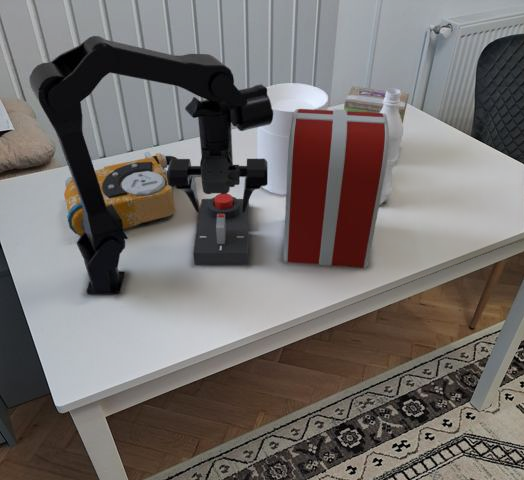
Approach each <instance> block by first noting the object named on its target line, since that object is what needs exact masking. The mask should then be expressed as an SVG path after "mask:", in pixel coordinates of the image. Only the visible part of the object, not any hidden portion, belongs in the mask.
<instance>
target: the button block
mask: <svg viewBox="0 0 524 480" xmlns="http://www.w3.org/2000/svg"><path fill="white" fill-rule="evenodd" d="M232 197H233V206H232V207H231V208H228V209H219V208H216V207H215V196H214V197H212V198H201V201H200V206H199V213H198V214H199V215H198V222H197V223H217V214H225V223H248V232H249V230H250V229H249V227H250V224H249V223H250V200H249V201H248V204H247V207H246V210H245V212H243V209H242V205H243V198H237V197H235V196H232Z"/></svg>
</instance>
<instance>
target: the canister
mask: <svg viewBox="0 0 524 480" xmlns="http://www.w3.org/2000/svg"><path fill="white" fill-rule="evenodd" d="M266 88H267V95H268V97H269V99H270V102H271V106H272V110H273V120H272V122H271V124H270V125H266V126H261V127H257V128H256V129H257V131H256V135H257V136H256V137H257V138H256V139H257V143H256V144H257V146H256V147H257V150H256V151H257V154H256V155H257V159H265V160H266V161H267V170H268V185H266V186H261V187H262V188H263V189H264V190H266V191H267V192H270V193H272V194H277V195H280V196H286V188H287V165H288V149H289V137H290V129H291V123H292V117H293V113H294V111H295V110H296V109H298V110H299V109H312V110H328V106H329V95H328V94H327V92H326V91H325V90H322V89H321V88H319V87H316V86H314V85H312V84H305V83H299V82H298V83H296V82H287V83H277V84H272V85H268V86H266Z"/></svg>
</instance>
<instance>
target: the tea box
mask: <svg viewBox="0 0 524 480" xmlns="http://www.w3.org/2000/svg"><path fill="white" fill-rule="evenodd" d="M385 94H386V90H380V89H373V88H367V87H360V86H351V88H350V90H349V92H348V94H347V96H346V98H345V101H344V105H343V110H347V111H352V112H371V113H380V111H381V110H382V108H383V105H384V104H383V100H384V98H385ZM409 95H410V94H409V93H404V92H401V95H400V105H399V114H400V117H401V120H402V124H404V119H405V115H406V110H407V105H408V100H409Z"/></svg>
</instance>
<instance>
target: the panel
mask: <svg viewBox="0 0 524 480" xmlns="http://www.w3.org/2000/svg"><path fill="white" fill-rule="evenodd" d="M216 224H217V223H198V222H197V224H196V230H195V231H196V232H195V239H194V246H193V252H192V255H193V262H194V263H193V264H194V265H195V266H248V265H249V231H248V223H225V224H226V236H225V244H217V233H216Z"/></svg>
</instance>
